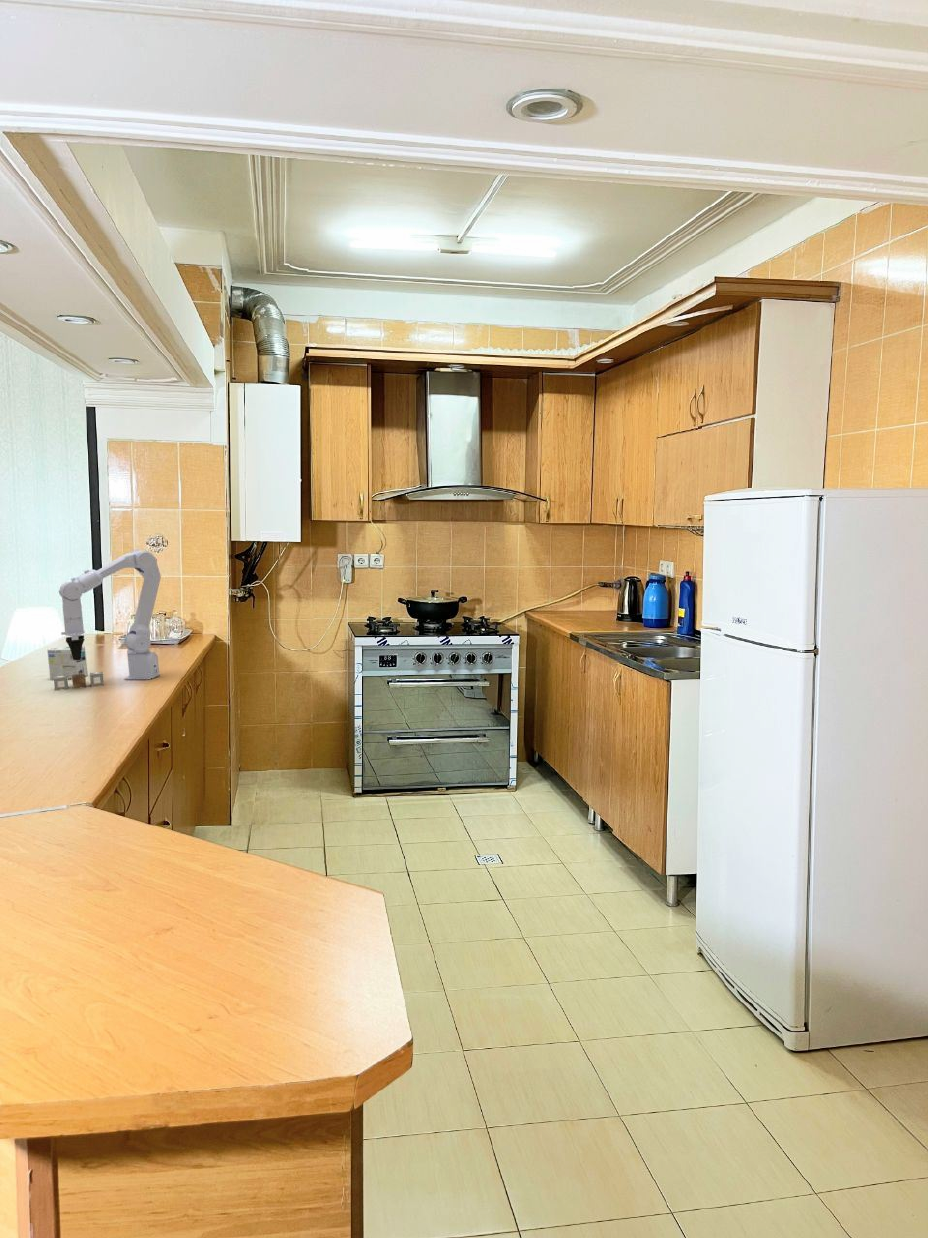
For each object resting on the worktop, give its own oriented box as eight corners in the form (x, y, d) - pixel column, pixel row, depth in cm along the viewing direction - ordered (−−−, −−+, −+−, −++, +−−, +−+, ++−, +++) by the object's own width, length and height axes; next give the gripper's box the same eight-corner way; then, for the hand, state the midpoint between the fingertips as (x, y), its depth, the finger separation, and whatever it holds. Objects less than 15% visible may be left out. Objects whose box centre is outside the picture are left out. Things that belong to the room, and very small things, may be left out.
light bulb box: (88, 675, 315) (85, 645, 314) (78, 679, 308) (75, 649, 307) (60, 676, 316) (57, 646, 315) (49, 679, 310) (46, 649, 308)
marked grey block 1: (68, 687, 296) (67, 674, 296) (68, 689, 293) (67, 677, 292) (55, 688, 295) (53, 676, 294) (54, 690, 291) (53, 678, 290)
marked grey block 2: (103, 683, 301) (102, 671, 300) (104, 685, 297) (102, 673, 296) (90, 684, 299) (89, 672, 298) (91, 687, 295) (89, 674, 295)
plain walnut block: (86, 685, 298) (84, 673, 298) (86, 687, 295) (85, 675, 294) (73, 686, 297) (71, 674, 296) (73, 688, 293) (72, 676, 293)
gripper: (60, 616, 298) (63, 656, 300) (59, 621, 285) (63, 663, 286) (82, 615, 300) (86, 654, 302) (83, 619, 287) (87, 661, 289)
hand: (77, 658), depth 295 cm, fingers open, 4 cm apart
